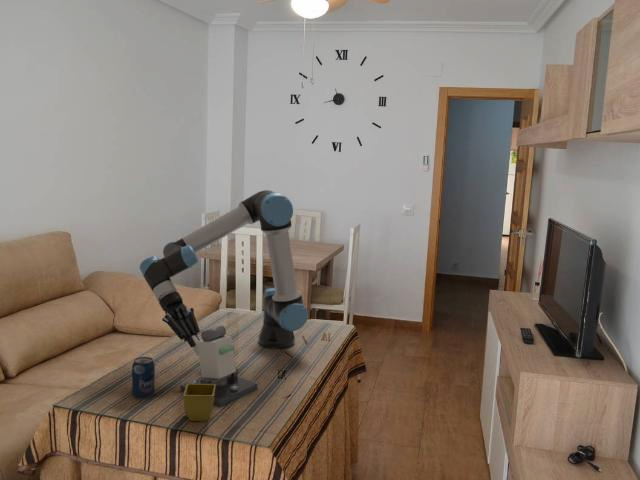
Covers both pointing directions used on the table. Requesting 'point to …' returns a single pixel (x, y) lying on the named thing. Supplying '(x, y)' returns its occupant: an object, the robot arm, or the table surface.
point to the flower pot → (199, 401)
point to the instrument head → (216, 354)
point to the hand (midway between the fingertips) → (200, 353)
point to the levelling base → (226, 388)
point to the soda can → (143, 377)
